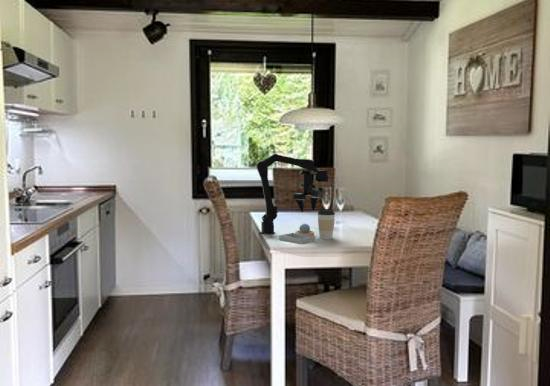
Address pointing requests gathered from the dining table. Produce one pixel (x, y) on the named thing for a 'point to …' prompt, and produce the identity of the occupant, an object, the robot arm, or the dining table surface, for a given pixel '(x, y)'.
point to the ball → (304, 228)
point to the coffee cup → (326, 223)
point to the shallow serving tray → (302, 238)
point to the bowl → (311, 233)
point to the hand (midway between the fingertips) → (307, 211)
